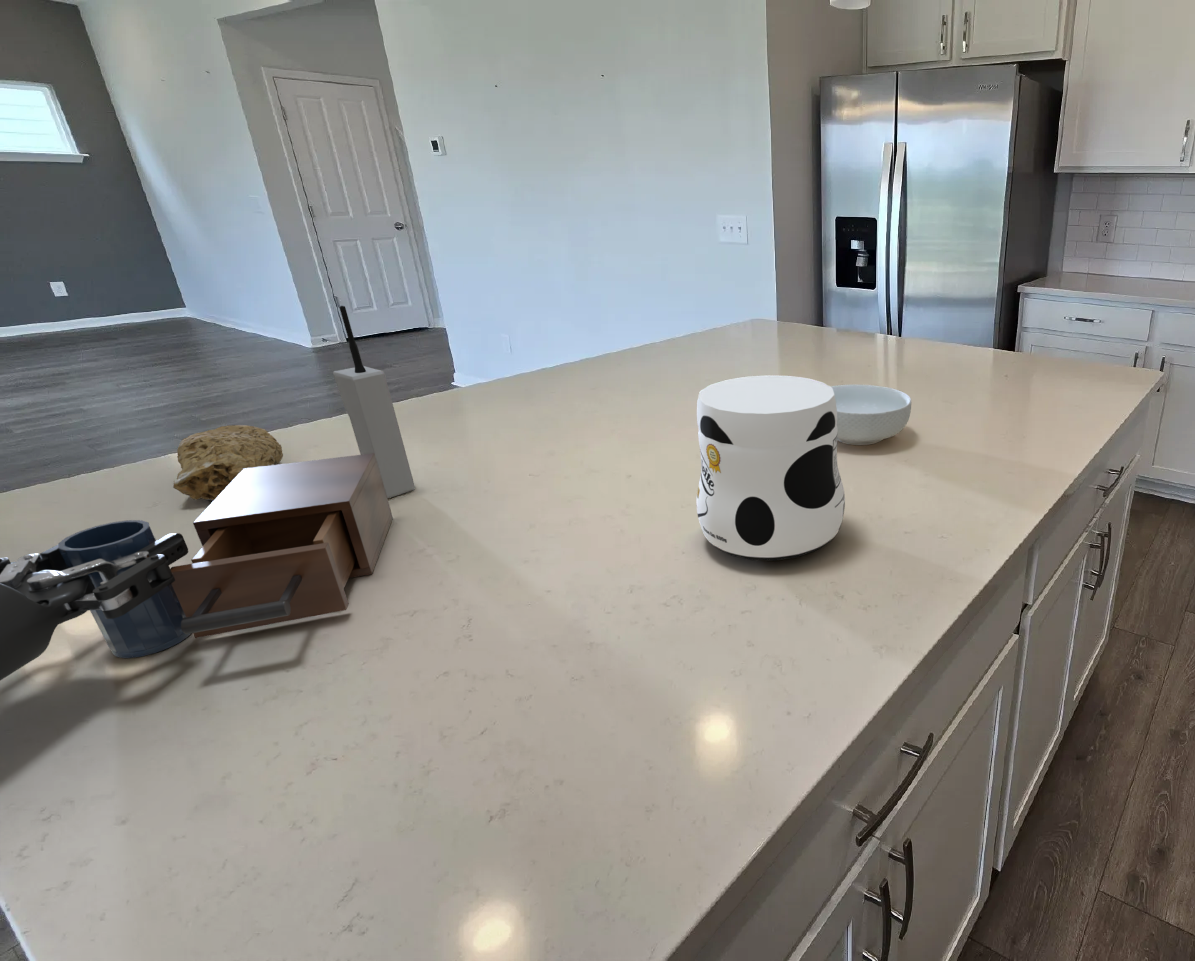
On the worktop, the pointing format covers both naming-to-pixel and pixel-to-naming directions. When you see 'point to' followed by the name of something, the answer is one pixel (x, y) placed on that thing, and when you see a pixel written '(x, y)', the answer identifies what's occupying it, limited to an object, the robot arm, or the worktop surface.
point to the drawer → (266, 574)
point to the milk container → (769, 466)
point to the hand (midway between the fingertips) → (135, 543)
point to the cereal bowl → (869, 413)
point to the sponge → (222, 458)
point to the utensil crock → (147, 622)
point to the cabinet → (309, 500)
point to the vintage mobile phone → (374, 418)
